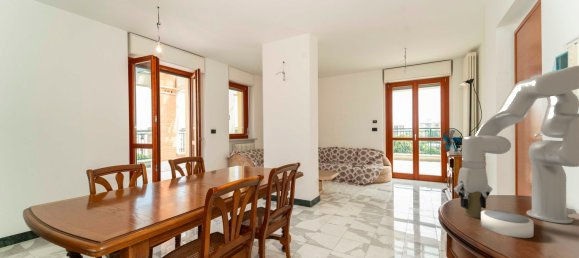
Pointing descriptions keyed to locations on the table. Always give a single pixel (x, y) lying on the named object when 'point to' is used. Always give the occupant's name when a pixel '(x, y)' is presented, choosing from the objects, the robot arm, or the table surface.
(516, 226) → the podium
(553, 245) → the table surface
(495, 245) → the table surface
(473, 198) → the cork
